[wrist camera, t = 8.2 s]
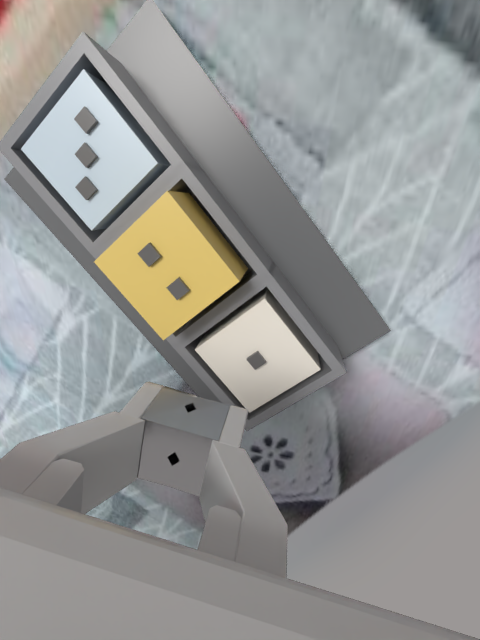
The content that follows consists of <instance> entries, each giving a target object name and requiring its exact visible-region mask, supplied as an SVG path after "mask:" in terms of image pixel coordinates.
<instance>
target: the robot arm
mask: <svg viewBox="0 0 480 640" xmlns="http://www.w3.org/2000/svg"><path fill="white" fill-rule="evenodd" d="M247 415H248V409H245V408H241V407H236V406H232V405H231V406H230V405H227V404H223V403H220V402H216V401H212V400H208V399H204V398H201V397H197V396H195V395H192V394H189V393H185V392H182V391H179V390H175V389H172V388H169V387H166V386H165V387H164V386H162V385H159V384H155V383H152V382H146V383H144V385H143V386H142V387H141V388H140V389H139V390H138V392H137V393H136V394H135V395H134V396H133V397H132V399H131V400H130V401H129V402H128V403H127V404H126V406H125V407H124V408H123V409H122V410H121V411H120V413H118V412H115V411H114V412H111V413H108V414H105V415H102V416H99V417H96V418H93V419H90V420H87V421H84V422H81V423H78V424H75V425H72V426H69V427H66V428H63V429H60V430H57V431H54V432H51V433H48V434H45V435H42V436H39V437H36V438H33V439H30V440H27V441H24V442H21V443H19V444H18V445H17V446H15V447H14V448H13V449H12V450H11V451H10V452H8V453H7V454H6V455H5V456H4V457H3V458H1V459H0V640H480V639H477V638H474V637H471V636H468V635H465V634H462V633H458V632H455V631H452V630H449V629H446V628H442V627H439V626H436V625H433V624H430V623H427V622H424V621H420V620H417V619H414V618H411V617H408V616H404V615H402V614H398V613H395V612H392V611H389V610H386V609H382V608H379V607H376V606H373V605H370V604H366V603H364V602H360V601H357V600H354V599H351V598H347V597H344V596H341V595H338V594H335V593H332V592H329V591H325V590H322V589H319V588H316V587H312V586H309V585H306V584H303V583H300V582H297V581H293V580H290V579H287V578H286V573H287V529H288V525H287V523H286V522H285V520H284V518H283V516H282V514H281V513H280V511H279V509H278V507H277V505H276V504H275V502H274V500H273V498H272V496H271V495H270V493H269V491H268V489H267V487H266V486H265V484H264V482H263V480H262V479H261V477H260V475H259V473H258V471H257V470H256V468H255V466H254V464H253V462H252V461H251V459H250V457H249V455H248V453H247V452H246V450H245V449H242V448H240V446H241V441H242V437H243V433H244V428H245V424H246V419H247ZM137 478H140V479H144V480H147V481H151V482H155V483H158V484H162V485H166V486H169V487H172V488H175V489H178V490H181V491H184V492H187V493H190V494H193V495H196V496H199V500H200V504H201V508H202V512H203V516H204V520H205V526H204V530H203V533H202V536H201V540H200V543H199V546H198V550H196V549H193V548H190V547H187V546H184V545H180V544H177V543H174V542H171V541H168V540H165V539H161V538H158V537H155V536H152V535H149V534H146V533H142V532H139V531H136V530H133V529H130V528H127V527H123V526H120V525H117V524H114V523H111V522H108V521H104V520H101V519H98V518H95V517H92V516H89V515H85V514H86V513H87V512H89V511H90V510H92V509H93V508H95V507H96V506H98V505H99V504H101V503H102V502H104V501H105V500H107V499H108V498H110V497H111V496H113V495H114V494H116V493H117V492H119V491H120V490H122V489H123V488H125V487H126V486H128V485H129V484H131V483H132V482H134V481H135V480H137Z"/></svg>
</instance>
